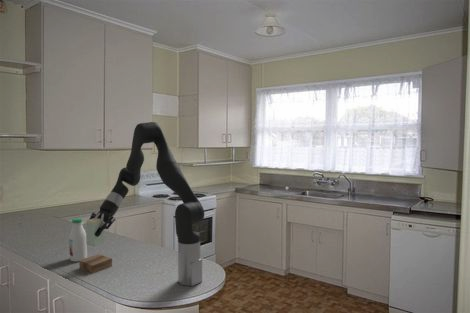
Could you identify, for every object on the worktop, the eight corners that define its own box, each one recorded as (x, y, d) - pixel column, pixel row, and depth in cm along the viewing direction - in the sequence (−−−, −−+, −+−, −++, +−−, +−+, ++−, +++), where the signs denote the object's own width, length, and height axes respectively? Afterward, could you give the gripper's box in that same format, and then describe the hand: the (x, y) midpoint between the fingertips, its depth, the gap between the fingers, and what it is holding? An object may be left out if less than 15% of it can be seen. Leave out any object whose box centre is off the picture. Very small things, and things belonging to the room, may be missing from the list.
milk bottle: (89, 256, 176) (88, 216, 174) (83, 262, 168) (82, 220, 166) (74, 256, 176) (72, 216, 174) (67, 262, 168) (65, 221, 166)
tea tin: (104, 243, 162) (103, 219, 161) (94, 246, 157) (93, 222, 156) (96, 241, 165) (95, 217, 164) (86, 244, 160) (85, 220, 159)
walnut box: (112, 267, 163) (111, 258, 163) (92, 274, 155) (92, 265, 155) (99, 262, 169) (98, 254, 168) (79, 269, 160) (79, 260, 160)
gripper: (96, 197, 169) (75, 228, 160) (118, 200, 162) (97, 233, 153) (106, 206, 174) (86, 236, 165) (127, 209, 167) (107, 241, 158)
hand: (91, 234), depth 159 cm, fingers closed on tea tin, 5 cm apart
